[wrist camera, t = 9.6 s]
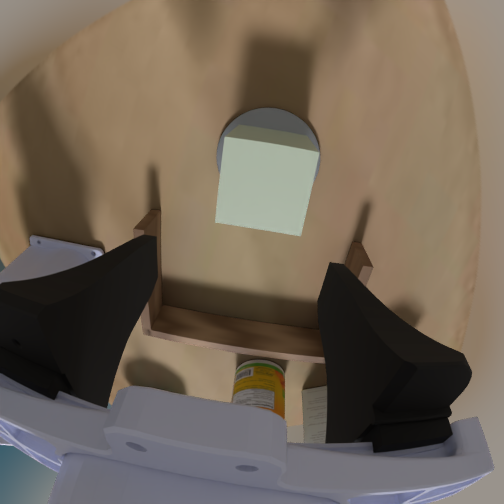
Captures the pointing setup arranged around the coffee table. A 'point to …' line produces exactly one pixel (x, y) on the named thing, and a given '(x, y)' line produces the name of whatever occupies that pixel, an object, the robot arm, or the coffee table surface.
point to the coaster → (269, 127)
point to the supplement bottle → (260, 386)
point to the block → (266, 179)
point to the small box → (314, 414)
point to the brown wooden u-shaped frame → (233, 329)
